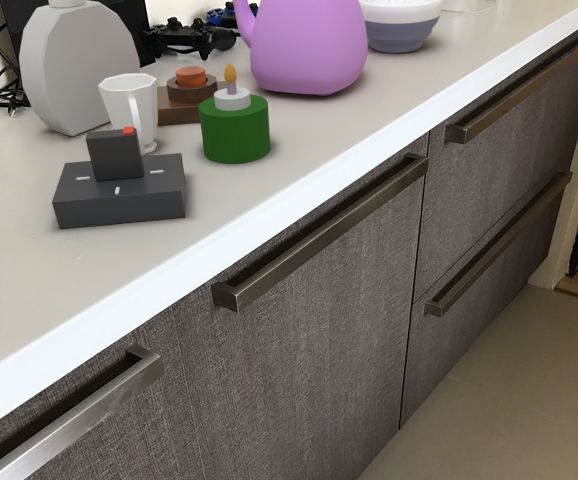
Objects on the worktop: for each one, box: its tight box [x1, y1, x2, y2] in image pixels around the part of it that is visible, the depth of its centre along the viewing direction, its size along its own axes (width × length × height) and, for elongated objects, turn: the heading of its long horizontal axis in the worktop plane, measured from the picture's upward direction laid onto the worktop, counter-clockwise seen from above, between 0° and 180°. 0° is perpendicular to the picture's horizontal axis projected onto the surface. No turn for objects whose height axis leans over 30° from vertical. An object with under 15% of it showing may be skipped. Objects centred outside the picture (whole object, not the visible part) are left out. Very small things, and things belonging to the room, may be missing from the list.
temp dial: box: [85, 126, 144, 181], centre depth 69 cm, size 5×2×5 cm, turn 97°
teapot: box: [231, 0, 369, 97], centre depth 99 cm, size 23×21×15 cm
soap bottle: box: [18, 0, 141, 137], centre depth 86 cm, size 16×5×20 cm, turn 142°
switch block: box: [157, 73, 227, 127], centre depth 93 cm, size 12×10×4 cm
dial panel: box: [51, 152, 186, 230], centre depth 72 cm, size 13×10×3 cm
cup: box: [98, 72, 158, 156], centre depth 81 cm, size 7×10×8 cm
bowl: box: [359, 0, 444, 54], centre depth 112 cm, size 14×14×8 cm
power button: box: [175, 65, 206, 86], centre depth 91 cm, size 4×4×2 cm
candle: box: [198, 63, 271, 165], centre depth 79 cm, size 8×8×10 cm
